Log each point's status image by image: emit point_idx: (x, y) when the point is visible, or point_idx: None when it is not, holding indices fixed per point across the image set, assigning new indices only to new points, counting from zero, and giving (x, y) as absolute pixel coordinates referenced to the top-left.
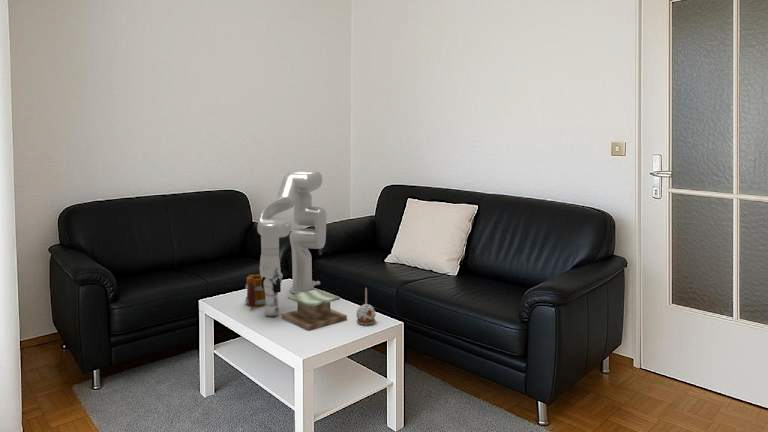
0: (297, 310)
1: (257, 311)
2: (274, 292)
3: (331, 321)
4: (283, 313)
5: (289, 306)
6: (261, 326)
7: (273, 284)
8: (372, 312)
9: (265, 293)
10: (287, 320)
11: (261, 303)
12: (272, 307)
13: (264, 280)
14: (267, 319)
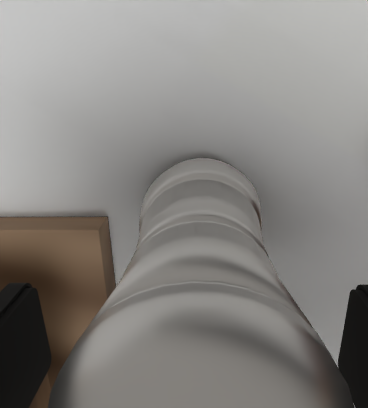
0: None
1: (354, 168)
2: (6, 287)
3: None
4: (98, 244)
5: None
6: (27, 13)
7: (48, 406)
8: None
9: (208, 232)
10: (34, 218)
11: None
12: (145, 208)
13: (261, 398)
14: (145, 133)
